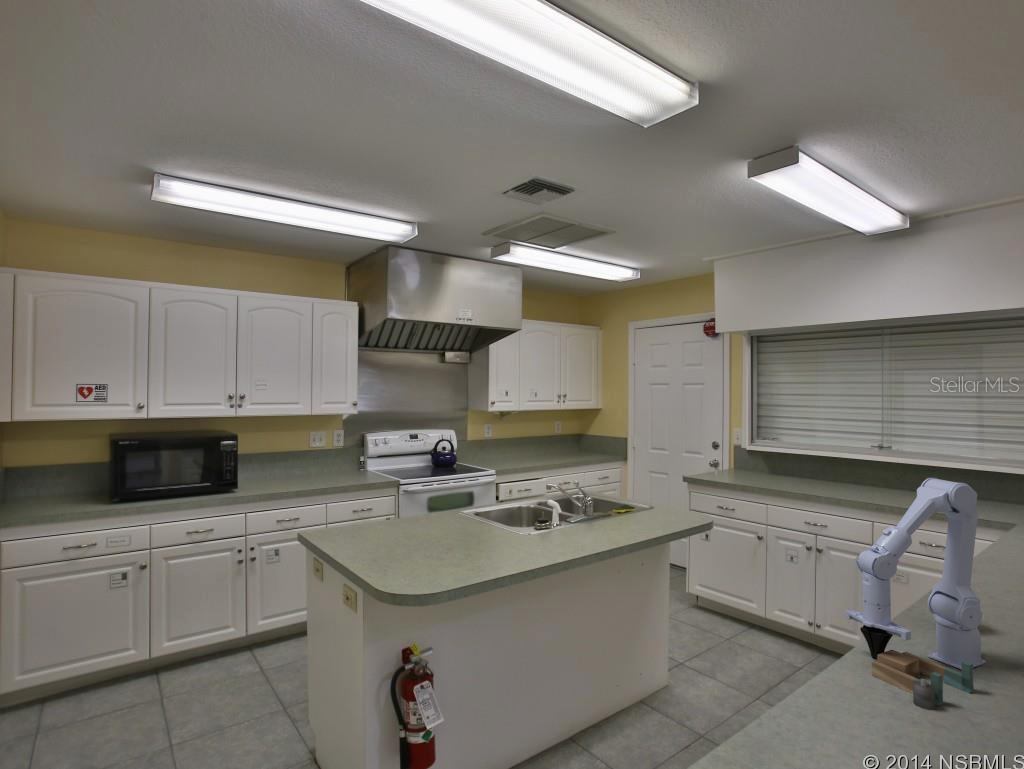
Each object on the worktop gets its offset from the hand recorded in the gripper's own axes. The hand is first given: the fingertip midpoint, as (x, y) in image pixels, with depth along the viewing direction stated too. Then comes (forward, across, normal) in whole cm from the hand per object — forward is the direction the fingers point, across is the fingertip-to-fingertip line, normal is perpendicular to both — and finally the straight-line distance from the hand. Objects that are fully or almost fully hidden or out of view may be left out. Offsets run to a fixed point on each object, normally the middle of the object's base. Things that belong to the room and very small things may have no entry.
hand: (877, 658), depth 136 cm
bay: (+1, +10, -2) cm, 10 cm away
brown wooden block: (+2, +5, 0) cm, 5 cm away
